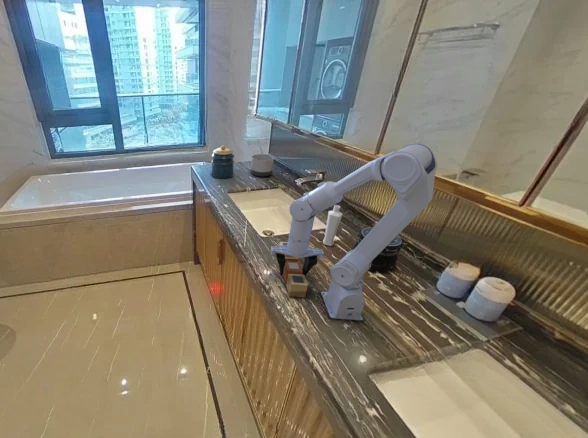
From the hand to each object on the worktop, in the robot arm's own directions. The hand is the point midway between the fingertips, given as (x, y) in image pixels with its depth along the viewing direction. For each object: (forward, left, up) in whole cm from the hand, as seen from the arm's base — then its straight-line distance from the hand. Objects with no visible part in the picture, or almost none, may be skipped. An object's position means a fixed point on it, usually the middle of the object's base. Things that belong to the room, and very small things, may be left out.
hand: (292, 274), depth 87 cm
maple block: (-6, 0, -1) cm, 6 cm away
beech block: (+6, 0, -1) cm, 6 cm away
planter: (+94, +1, -2) cm, 94 cm away
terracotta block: (0, 0, -1) cm, 1 cm away
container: (+11, -28, -2) cm, 30 cm away
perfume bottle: (+21, -17, -2) cm, 27 cm away
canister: (+91, +24, -2) cm, 94 cm away
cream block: (+11, 0, -1) cm, 11 cm away
